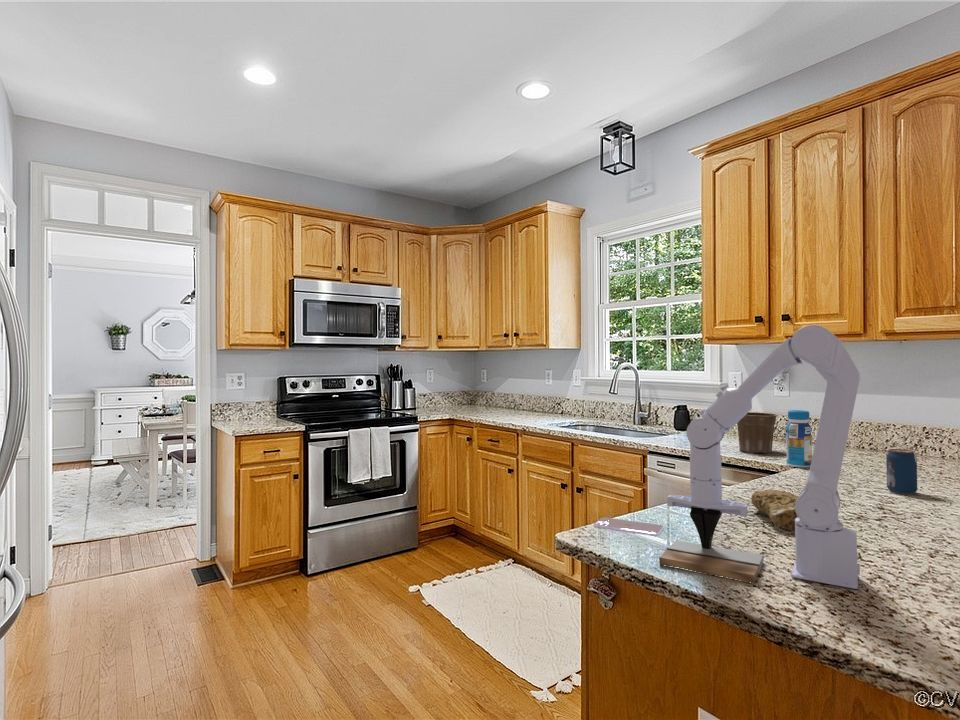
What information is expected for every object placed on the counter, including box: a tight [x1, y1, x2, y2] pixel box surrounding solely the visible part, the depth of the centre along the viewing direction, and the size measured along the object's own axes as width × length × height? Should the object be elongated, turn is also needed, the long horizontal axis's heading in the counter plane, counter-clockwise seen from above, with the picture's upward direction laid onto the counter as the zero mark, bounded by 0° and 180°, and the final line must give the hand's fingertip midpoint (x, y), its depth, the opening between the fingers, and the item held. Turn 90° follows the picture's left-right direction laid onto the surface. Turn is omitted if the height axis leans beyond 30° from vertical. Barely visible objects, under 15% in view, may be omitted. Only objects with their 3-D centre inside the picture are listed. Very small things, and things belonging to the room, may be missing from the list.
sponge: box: [750, 489, 799, 531], centre depth 129 cm, size 13×8×20 cm
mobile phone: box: [593, 516, 665, 537], centre depth 125 cm, size 8×1×15 cm
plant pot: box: [736, 411, 778, 454], centre depth 228 cm, size 16×16×16 cm
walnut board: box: [658, 547, 760, 584], centre depth 98 cm, size 16×6×2 cm, turn 56°
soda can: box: [885, 448, 918, 496], centre depth 155 cm, size 7×7×12 cm
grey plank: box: [668, 539, 764, 572], centre depth 104 cm, size 16×6×2 cm, turn 56°
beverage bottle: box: [785, 409, 813, 469], centre depth 196 cm, size 8×8×20 cm
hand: (706, 547), depth 106 cm, fingers closed
